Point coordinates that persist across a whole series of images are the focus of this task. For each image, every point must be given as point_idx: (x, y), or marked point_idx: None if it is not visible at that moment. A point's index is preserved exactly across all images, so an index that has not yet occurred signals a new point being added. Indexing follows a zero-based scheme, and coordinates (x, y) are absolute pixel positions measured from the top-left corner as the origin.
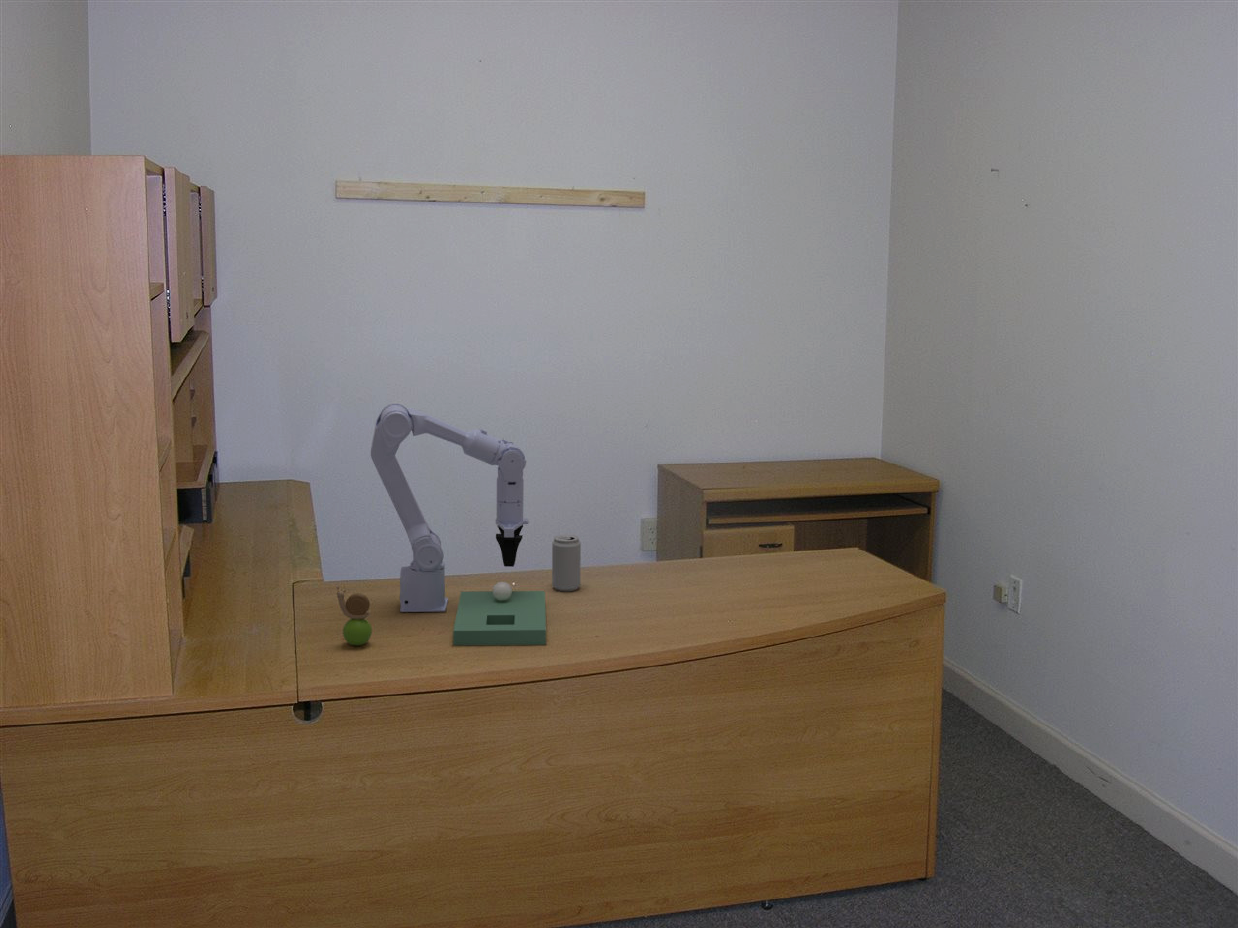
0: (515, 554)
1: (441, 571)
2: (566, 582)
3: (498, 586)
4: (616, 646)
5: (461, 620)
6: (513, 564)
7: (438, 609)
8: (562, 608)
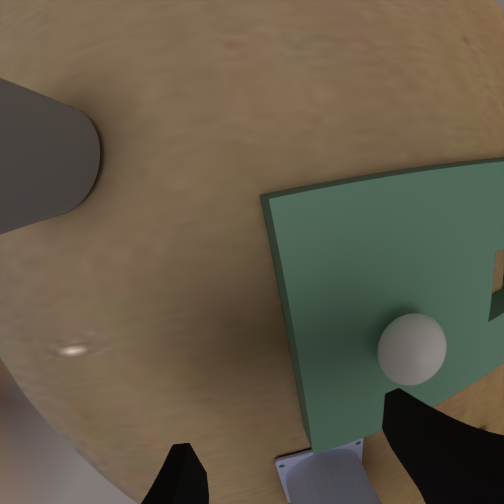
0: (454, 421)
1: None
2: (88, 139)
3: (441, 365)
4: (487, 19)
5: (498, 357)
6: (406, 394)
7: (360, 445)
8: (295, 119)
